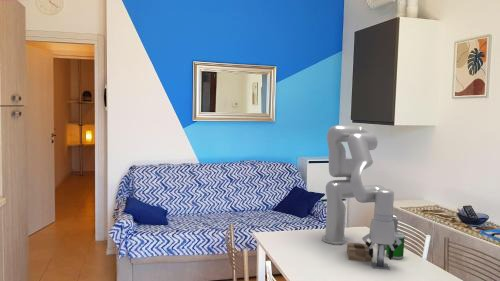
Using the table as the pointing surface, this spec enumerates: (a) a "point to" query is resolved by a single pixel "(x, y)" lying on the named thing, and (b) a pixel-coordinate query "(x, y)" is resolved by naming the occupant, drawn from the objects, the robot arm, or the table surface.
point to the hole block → (358, 252)
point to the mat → (380, 267)
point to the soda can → (400, 249)
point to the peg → (380, 255)
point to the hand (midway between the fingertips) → (380, 257)
